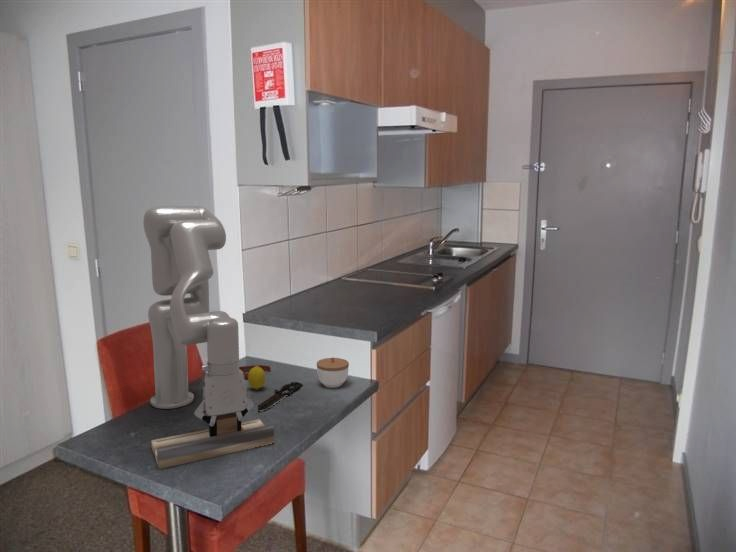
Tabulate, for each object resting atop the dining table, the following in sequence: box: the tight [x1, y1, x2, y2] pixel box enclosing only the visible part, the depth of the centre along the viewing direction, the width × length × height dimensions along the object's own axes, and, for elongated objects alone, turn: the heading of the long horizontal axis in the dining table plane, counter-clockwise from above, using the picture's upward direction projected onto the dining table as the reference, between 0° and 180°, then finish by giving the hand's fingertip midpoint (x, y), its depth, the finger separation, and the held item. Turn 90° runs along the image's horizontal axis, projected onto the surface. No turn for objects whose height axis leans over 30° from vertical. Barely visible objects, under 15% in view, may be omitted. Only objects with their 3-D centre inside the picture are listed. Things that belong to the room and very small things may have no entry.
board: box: [150, 418, 275, 470], centre depth 139 cm, size 13×28×4 cm, turn 119°
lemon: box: [247, 366, 266, 391], centre depth 177 cm, size 6×6×8 cm
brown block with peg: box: [215, 413, 237, 436], centre depth 140 cm, size 9×5×6 cm, turn 29°
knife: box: [257, 381, 304, 412], centre depth 171 cm, size 25×6×1 cm, turn 154°
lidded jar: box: [316, 356, 350, 389], centre depth 182 cm, size 11×11×9 cm
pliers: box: [239, 364, 271, 381], centre depth 192 cm, size 12×20×3 cm, turn 81°
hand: (225, 435), depth 138 cm, fingers closed on brown block with peg, 5 cm apart
